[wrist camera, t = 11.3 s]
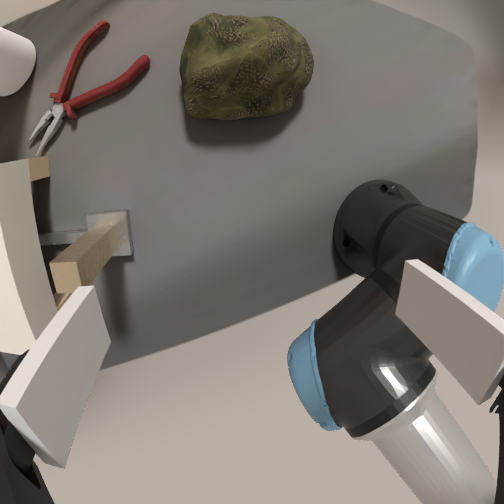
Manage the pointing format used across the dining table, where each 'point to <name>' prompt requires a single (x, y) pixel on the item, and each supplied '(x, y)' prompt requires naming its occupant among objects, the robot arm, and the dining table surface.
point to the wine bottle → (15, 61)
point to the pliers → (93, 95)
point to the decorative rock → (243, 67)
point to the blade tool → (88, 248)
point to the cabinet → (23, 260)
